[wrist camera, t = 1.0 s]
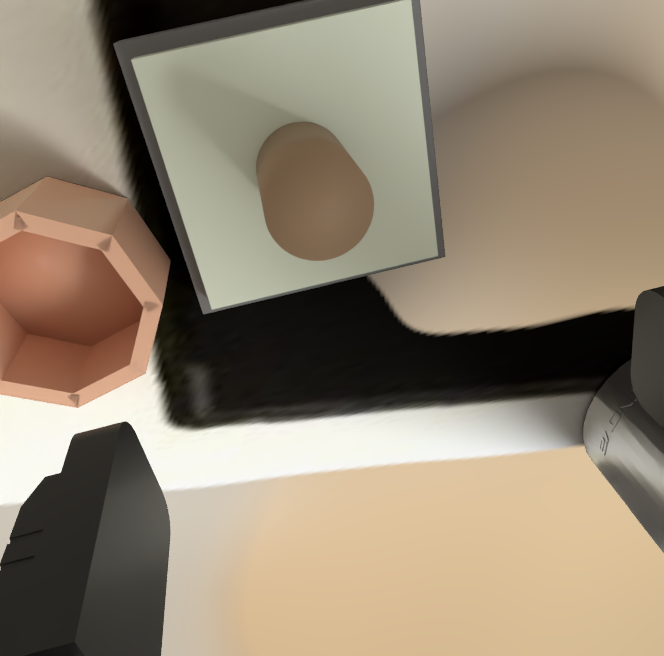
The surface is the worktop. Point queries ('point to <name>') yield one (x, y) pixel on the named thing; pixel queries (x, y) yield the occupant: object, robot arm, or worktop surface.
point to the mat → (314, 5)
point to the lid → (296, 150)
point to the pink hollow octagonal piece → (75, 293)
